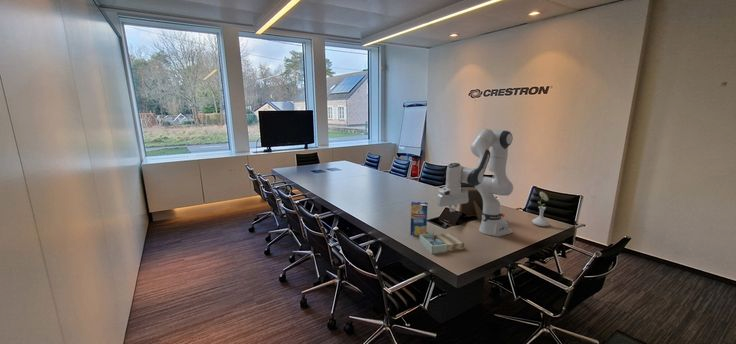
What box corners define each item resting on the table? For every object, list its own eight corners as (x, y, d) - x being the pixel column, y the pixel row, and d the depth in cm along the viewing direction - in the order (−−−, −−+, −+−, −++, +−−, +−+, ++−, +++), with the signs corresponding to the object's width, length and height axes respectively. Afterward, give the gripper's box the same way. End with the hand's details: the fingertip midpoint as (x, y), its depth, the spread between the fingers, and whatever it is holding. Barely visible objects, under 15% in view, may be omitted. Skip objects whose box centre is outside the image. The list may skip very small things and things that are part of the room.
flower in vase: (551, 228, 221) (555, 195, 216) (534, 227, 223) (538, 194, 218) (544, 221, 233) (548, 190, 228) (528, 220, 236) (532, 189, 231)
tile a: (423, 238, 197) (423, 242, 197) (426, 241, 192) (426, 245, 193) (430, 237, 198) (430, 241, 199) (433, 241, 193) (433, 244, 194)
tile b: (438, 238, 191) (435, 239, 190) (442, 242, 186) (439, 242, 185) (438, 246, 192) (434, 246, 191) (442, 249, 187) (438, 250, 186)
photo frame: (458, 214, 251) (460, 185, 246) (485, 215, 249) (488, 185, 243) (462, 221, 237) (464, 190, 231) (490, 221, 234) (493, 190, 229)
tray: (433, 240, 202) (433, 233, 201) (446, 252, 185) (447, 244, 184) (419, 241, 199) (419, 234, 198) (431, 254, 182) (432, 246, 181)
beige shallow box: (450, 238, 204) (450, 233, 203) (463, 248, 189) (464, 242, 188) (434, 240, 201) (434, 235, 200) (446, 251, 186) (446, 245, 185)
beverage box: (426, 236, 209) (427, 205, 204) (410, 234, 211) (411, 204, 207) (426, 232, 215) (427, 202, 211) (411, 230, 218) (411, 201, 213)
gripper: (465, 186, 190) (464, 207, 193) (435, 190, 185) (435, 211, 188) (471, 189, 184) (470, 210, 187) (440, 193, 179) (440, 215, 182)
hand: (452, 211), depth 187 cm, fingers closed
